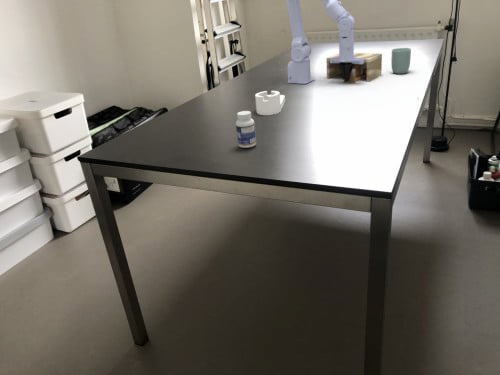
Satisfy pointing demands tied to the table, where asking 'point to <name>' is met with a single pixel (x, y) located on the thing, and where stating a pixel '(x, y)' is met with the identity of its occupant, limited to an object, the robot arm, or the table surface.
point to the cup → (400, 60)
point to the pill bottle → (245, 129)
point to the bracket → (269, 102)
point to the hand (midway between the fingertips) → (346, 80)
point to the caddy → (357, 73)
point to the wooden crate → (370, 62)
